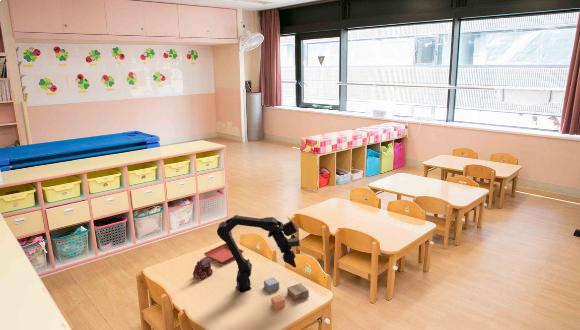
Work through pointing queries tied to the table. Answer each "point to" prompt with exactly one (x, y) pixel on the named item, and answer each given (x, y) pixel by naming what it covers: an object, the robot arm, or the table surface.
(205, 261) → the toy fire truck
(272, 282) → the grey block
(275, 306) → the terracotta block
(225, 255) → the red square tray
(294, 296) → the walnut base
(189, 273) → the table surface
